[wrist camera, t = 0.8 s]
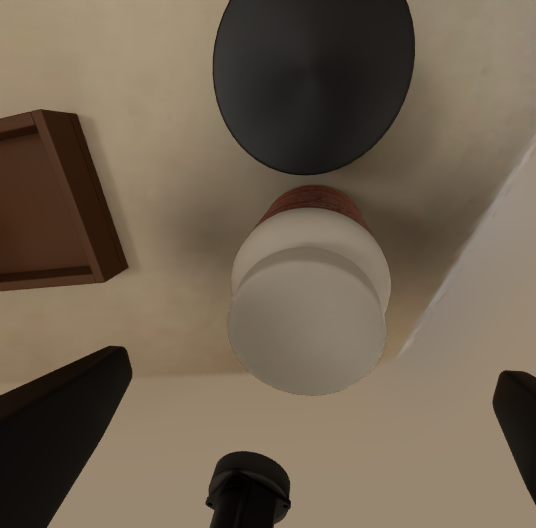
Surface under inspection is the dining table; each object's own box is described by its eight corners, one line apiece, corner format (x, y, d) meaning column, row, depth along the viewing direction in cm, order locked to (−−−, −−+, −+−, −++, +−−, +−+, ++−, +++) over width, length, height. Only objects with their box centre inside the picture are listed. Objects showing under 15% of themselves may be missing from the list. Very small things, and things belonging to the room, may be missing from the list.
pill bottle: (247, 210, 19) (162, 283, 9) (338, 164, 17) (365, 189, 7) (290, 291, 21) (259, 433, 10) (378, 256, 19) (447, 388, 8)
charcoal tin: (327, 183, 18) (331, 209, 10) (240, 127, 17) (181, 111, 10) (395, 81, 15) (466, 20, 8) (297, 13, 15) (275, -117, 8)
